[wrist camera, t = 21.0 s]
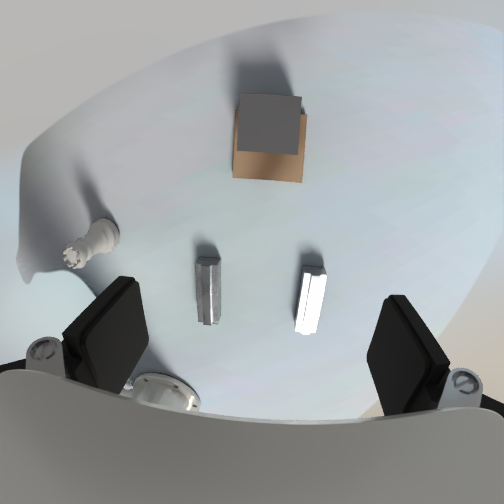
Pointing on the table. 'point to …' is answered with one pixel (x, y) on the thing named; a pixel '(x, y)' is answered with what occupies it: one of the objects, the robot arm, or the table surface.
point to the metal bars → (211, 294)
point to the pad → (270, 160)
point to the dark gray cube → (269, 123)
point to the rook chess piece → (92, 243)
